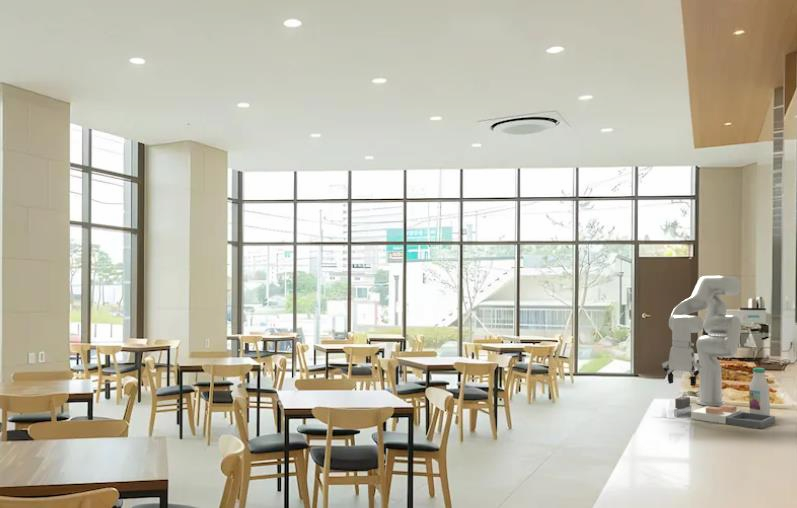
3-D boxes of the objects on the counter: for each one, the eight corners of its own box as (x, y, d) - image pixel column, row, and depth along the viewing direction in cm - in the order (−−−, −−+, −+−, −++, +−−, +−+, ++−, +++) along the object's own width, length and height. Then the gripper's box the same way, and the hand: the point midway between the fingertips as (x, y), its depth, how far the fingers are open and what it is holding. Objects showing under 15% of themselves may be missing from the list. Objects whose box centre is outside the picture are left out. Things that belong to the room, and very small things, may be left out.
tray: (741, 417, 301) (741, 411, 301) (774, 422, 292) (774, 416, 292) (726, 423, 290) (726, 417, 290) (761, 428, 281) (760, 422, 281)
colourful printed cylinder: (765, 413, 310) (764, 366, 310) (772, 417, 302) (772, 369, 303) (746, 413, 311) (745, 366, 311) (753, 416, 303) (752, 369, 303)
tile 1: (710, 411, 301) (710, 406, 301) (722, 412, 297) (722, 407, 297) (705, 412, 297) (705, 408, 297) (718, 414, 294) (718, 409, 294)
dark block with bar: (686, 411, 317) (686, 395, 317) (693, 412, 315) (693, 396, 315) (672, 416, 306) (671, 399, 307) (678, 417, 304) (678, 400, 304)
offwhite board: (706, 413, 311) (706, 406, 311) (740, 417, 301) (740, 410, 301) (691, 418, 300) (691, 411, 300) (725, 423, 290) (725, 416, 290)
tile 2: (724, 409, 305) (724, 404, 305) (736, 410, 301) (736, 405, 301) (719, 410, 301) (719, 406, 301) (731, 412, 298) (731, 407, 298)
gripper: (705, 345, 308) (705, 385, 307) (666, 343, 320) (666, 381, 319) (697, 346, 302) (698, 387, 302) (658, 343, 315) (658, 383, 314)
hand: (681, 384), depth 310 cm, fingers open, 9 cm apart
